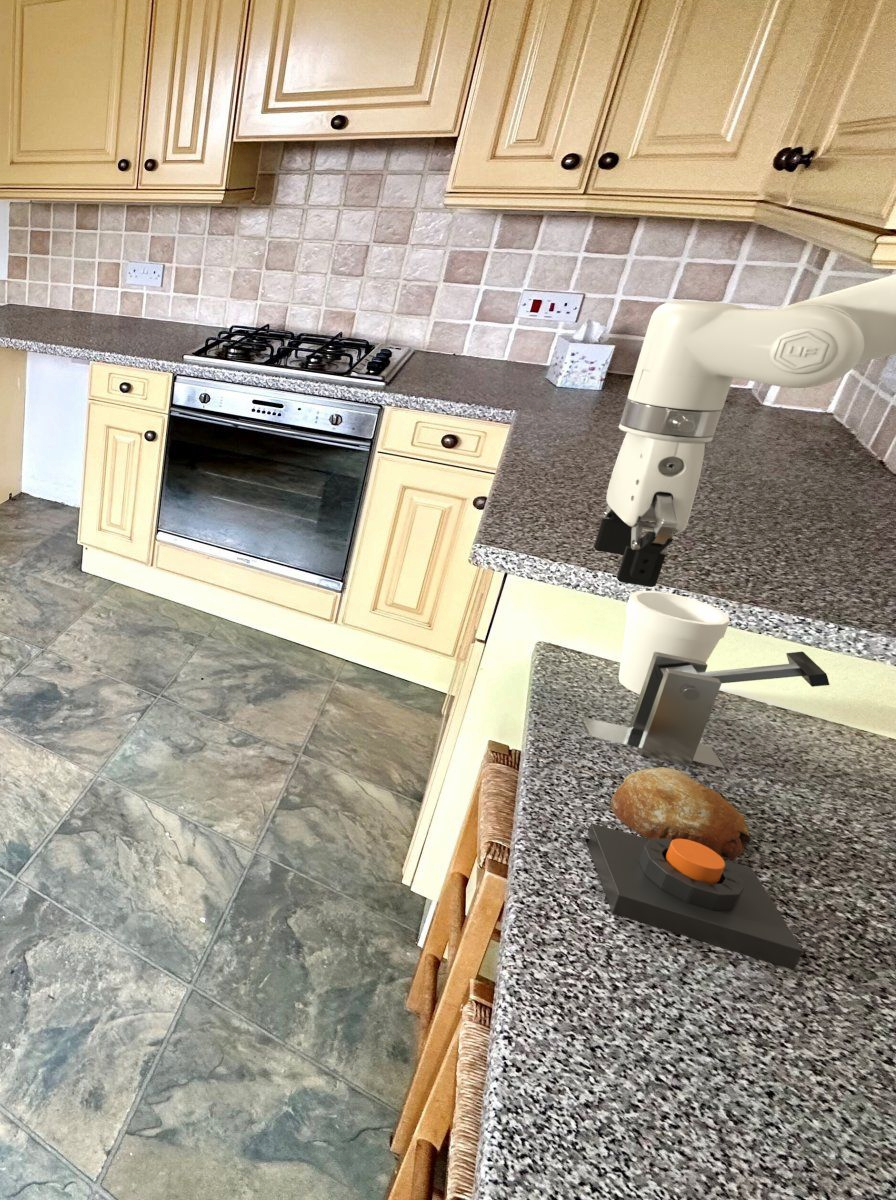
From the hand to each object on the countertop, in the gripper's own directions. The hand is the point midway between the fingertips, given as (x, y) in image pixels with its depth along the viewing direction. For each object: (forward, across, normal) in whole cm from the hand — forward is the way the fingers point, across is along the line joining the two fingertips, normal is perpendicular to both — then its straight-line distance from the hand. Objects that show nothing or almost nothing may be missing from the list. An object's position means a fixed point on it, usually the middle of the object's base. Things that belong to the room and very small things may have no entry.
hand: (622, 567), depth 88 cm
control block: (+22, -26, -3) cm, 34 cm away
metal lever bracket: (+22, -2, -7) cm, 24 cm away
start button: (+19, -26, -3) cm, 32 cm away
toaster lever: (+11, -2, -12) cm, 16 cm away
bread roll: (+23, -15, -6) cm, 28 cm away
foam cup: (+23, +16, -11) cm, 30 cm away
